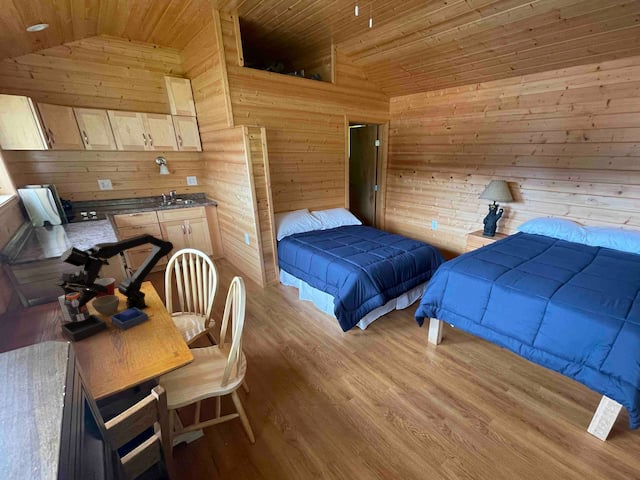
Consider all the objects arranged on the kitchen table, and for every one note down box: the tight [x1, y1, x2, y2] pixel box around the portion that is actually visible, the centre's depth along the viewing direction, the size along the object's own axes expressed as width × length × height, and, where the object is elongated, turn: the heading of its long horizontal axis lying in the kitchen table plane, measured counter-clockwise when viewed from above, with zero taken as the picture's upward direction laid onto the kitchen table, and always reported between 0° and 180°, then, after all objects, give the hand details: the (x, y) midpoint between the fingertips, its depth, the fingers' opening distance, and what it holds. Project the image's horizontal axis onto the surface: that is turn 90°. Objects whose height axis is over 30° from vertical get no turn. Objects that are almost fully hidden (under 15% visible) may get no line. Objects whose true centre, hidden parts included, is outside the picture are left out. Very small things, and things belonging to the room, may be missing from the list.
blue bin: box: [109, 307, 149, 331], centre depth 137 cm, size 10×10×4 cm
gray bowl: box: [91, 294, 120, 317], centre depth 141 cm, size 10×10×7 cm
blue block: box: [119, 309, 138, 322], centre depth 136 cm, size 4×4×4 cm
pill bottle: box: [65, 292, 91, 322], centre depth 123 cm, size 6×6×11 cm
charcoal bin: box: [60, 313, 108, 342], centre depth 128 cm, size 11×11×4 cm
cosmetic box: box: [57, 292, 82, 322], centre depth 134 cm, size 6×4×12 cm
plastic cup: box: [94, 277, 116, 299], centre depth 148 cm, size 11×11×12 cm
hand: (72, 306), depth 122 cm, fingers closed on pill bottle, 6 cm apart
